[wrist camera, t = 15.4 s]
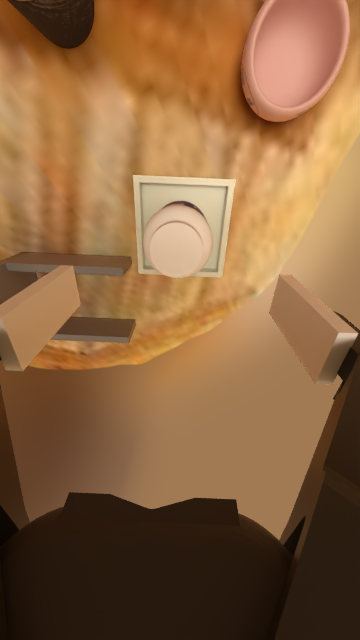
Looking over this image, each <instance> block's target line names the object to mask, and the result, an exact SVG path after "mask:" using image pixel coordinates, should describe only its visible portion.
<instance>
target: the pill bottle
mask: <svg viewBox="0 0 360 640" xmlns="http://www.w3.org/2000/svg"><path fill="white" fill-rule="evenodd" d="M143 248H144V252H145V255H146V257H147V259H148V261H149V263H150V264H151V265H152V267H153V268H154V269H155V270H157V271H158V272H159V273H161V274H163V275H165V276H168V277H172V278H185V277H188V276H191V275H193V274H195V273H197V272H198V271H200V270H201V269H202V268H203V267H204V266H205V264H206V263H207V261H208V260H209V258H210V255H211V252H212V248H213V236H212V232H211V229H210V226H209V224H208V222H207V220H206V218H205V216H204V214H203V213H202V211H201V210H200V209H199V208H198V207H197V206H195V205H194V204H192V203H190V202H187V201H174V202H171V203H169V204H167V205H166V206H164V207H163V208H162V209H160V210H159V211H158V212H157V213H155V214H154V215H153V216H152V217H151V219H150V220H149V222H148V223H147V225H146V228H145V230H144V234H143Z"/></svg>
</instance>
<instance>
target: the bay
mask: <svg viewBox="0 0 360 640" xmlns="http://www.w3.org/2000/svg"><path fill="white" fill-rule="evenodd" d="M60 265H68V266H73V268H74V273H75V274H89V275H111V276H123V275H124V274H125V272H126V271H127V270H128V268H129V267H130V265H131V257H122V256H100V255H77V254H55V253H33V252H21V253H19V254H16V255H14V256H11V257H9V258H7V259H4V260H2V261H0V304H1V303H2V302H4V301H6V300H8V299H10V298H11V297H13V296H14V295H16V294H17V293H19V292H21V291H22V290H24V289H25V288H27V287H28V286H30V285H31V284H33V283H34V282H36V281H37V277H36V273H35V272H44V273H50V272H51V271H53V270H54V269H56V268H57V267H59V266H60ZM135 325H136V323H135V320H129V319H107V318H85V317H69V319H68V320H67V321H66V322H65V323H64V324H63V326H62V327H61V328H60V329H59V330H58V331H57V332H56V334H55V335H54V336H53V337H52V338H51V339H50V340H71V341H94V342H116V343H129V342H130V339H131V336H132V334H133V331H134V328H135Z"/></svg>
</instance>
